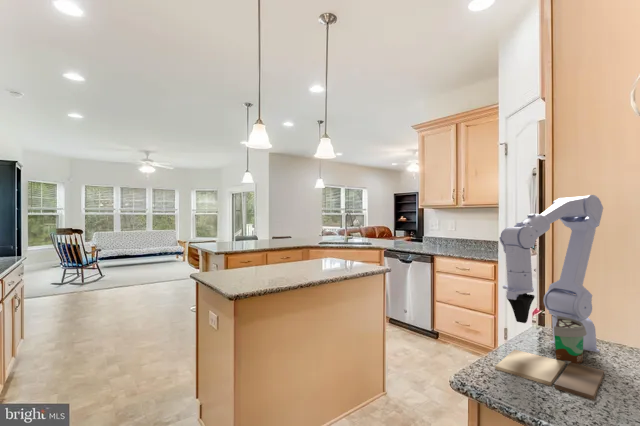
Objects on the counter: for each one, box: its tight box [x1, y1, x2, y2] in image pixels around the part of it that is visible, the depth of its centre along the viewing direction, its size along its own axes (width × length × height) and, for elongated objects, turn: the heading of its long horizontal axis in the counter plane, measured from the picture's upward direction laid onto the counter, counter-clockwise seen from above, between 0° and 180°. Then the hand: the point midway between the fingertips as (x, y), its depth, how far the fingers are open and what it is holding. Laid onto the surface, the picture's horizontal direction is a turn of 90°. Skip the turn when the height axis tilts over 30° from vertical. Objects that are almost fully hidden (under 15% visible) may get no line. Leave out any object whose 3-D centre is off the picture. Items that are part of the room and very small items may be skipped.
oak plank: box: [494, 349, 566, 386], centre depth 75 cm, size 11×14×2 cm
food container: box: [554, 316, 587, 365], centre depth 79 cm, size 12×6×10 cm, turn 139°
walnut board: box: [554, 362, 605, 401], centre depth 68 cm, size 15×6×2 cm, turn 131°
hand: (521, 321), depth 83 cm, fingers closed
